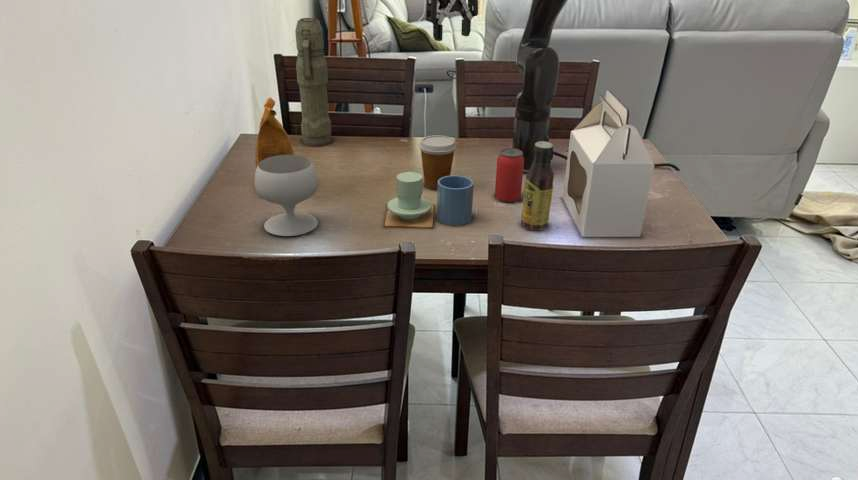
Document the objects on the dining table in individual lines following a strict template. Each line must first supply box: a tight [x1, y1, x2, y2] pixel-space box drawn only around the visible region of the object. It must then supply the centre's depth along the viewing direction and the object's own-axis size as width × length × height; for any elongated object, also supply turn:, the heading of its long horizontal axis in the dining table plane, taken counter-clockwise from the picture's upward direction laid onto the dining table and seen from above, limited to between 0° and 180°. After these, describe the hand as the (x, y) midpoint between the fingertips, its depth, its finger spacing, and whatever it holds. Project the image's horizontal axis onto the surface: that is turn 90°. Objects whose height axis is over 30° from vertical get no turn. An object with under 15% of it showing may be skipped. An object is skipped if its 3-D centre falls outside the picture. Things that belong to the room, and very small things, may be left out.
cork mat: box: [384, 204, 435, 229], centre depth 159 cm, size 11×12×1 cm
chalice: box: [253, 154, 319, 237], centre depth 151 cm, size 14×14×15 cm
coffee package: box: [254, 97, 295, 169], centre depth 168 cm, size 10×12×22 cm
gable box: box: [562, 90, 656, 238], centre depth 153 cm, size 22×13×28 cm, turn 1°
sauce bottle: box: [520, 141, 555, 231], centre depth 150 cm, size 7×6×20 cm
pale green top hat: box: [386, 171, 433, 219], centre depth 157 cm, size 10×10×10 cm
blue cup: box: [436, 174, 474, 226], centre depth 157 cm, size 8×8×9 cm
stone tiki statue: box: [294, 17, 332, 147], centre depth 195 cm, size 9×12×35 cm
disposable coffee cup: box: [418, 134, 457, 190], centre depth 173 cm, size 10×10×12 cm
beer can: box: [494, 147, 524, 203], centre depth 166 cm, size 7×7×12 cm
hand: (451, 38), depth 162 cm, fingers open, 8 cm apart
